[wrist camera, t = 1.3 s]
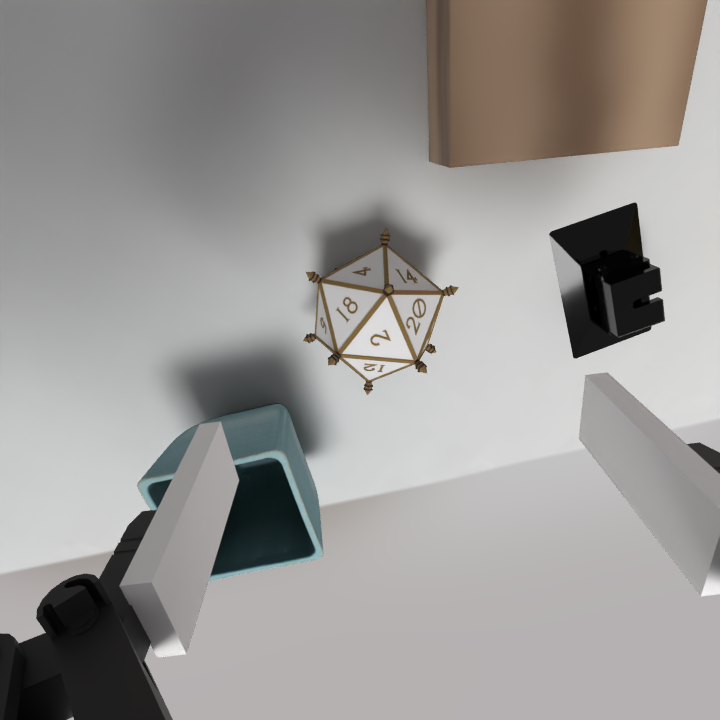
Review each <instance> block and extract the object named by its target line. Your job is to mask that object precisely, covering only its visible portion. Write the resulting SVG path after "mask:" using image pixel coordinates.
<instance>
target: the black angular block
mask: <svg viewBox="0 0 720 720" xmlns="http://www.w3.org/2000/svg"><path fill="white" fill-rule="evenodd" d="M549 236H550V241H551V246H552V251H553V256H554V261H555V266H556V271H557V276H558V281H559V287H560V292H561V297H562V302H563V307H564V312H565V317H566V322H567V327H568V333H569V338H570V343H571V348H572V353H573V357H574V358H578V357H581V356H584V355H586V354H589V353H592V352H594V351H597V350H600V349H602V348H605V347H607V346H610V345H613V344H615V343H618V342H621V341H623V340H626V339H628V338H631V337H634V336H636V335H639V334H642V333H644V332H647V331H649V330H650V329H651V326H652V325H655V324H658V323H661V322H664V321H665V316H664V306H663V299H661V298H659V297H657V298H654V299H652V300H650V296H649V295H652V294H655V293H658V292H660V291H662V285H661V275H660V268H659V267H656V266H654V265H651V264H650V261H649V259H648V258H645V257H643V251H642V243H641V234H640V226H639V217H638V208H637V203H632V204H629V205H626V206H623V207H620V208H617V209H614V210H612V211H609V212H606V213H603V214H600V215H597V216H594V217H592V218H589V219H586V220H583V221H580V222H577V223H574V224H571V225H569V226H566V227H563V228H560V229H557V230H554V231H552V232H550V234H549Z"/></svg>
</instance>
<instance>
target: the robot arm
mask: <svg viewBox="0 0 720 720" xmlns="http://www.w3.org/2000/svg"><path fill="white" fill-rule="evenodd" d="M579 439H580V441H581V442H582V443H583V445H584V446H585V447H586V448H587V450H588V451H589V452H590V454H591V455H592V456H593V457H594V459H595V460H596V461H597V463H598V464H599V465H600V466H601V468H602V469H603V470H604V472H605V473H606V474H607V475H608V477H609V478H610V479H611V481H612V482H613V483H614V485H615V486H616V487H617V489H618V490H619V491H620V492H621V494H622V495H623V496H624V498H625V499H626V500H627V501H628V503H629V504H630V505H631V507H632V508H633V509H634V510H635V512H636V513H637V514H638V516H639V517H640V518H641V519H642V521H643V522H644V523H645V525H646V526H647V527H648V528H649V530H650V531H651V532H652V534H653V535H654V536H655V538H656V539H657V540H658V541H659V543H660V544H661V545H662V547H663V548H664V549H665V551H666V552H667V553H668V554H669V556H670V557H671V558H672V560H673V561H674V562H675V563H676V565H677V566H678V567H679V569H680V570H681V571H682V573H683V574H684V575H685V576H686V578H687V579H688V580H689V581H690V583H691V584H692V585H693V587H694V588H695V589H696V591H697V592H698V593H699V594H700V596H708V595H717V594H720V453H719V452H717V451H715V450H713V449H711V448H709V447H707V446H705V445H703V444H701V443H692V444H686V443H685V442H683V440H681V439H680V438H679V437H678V436H677V435H676V434H675V433H674V432H673V431H671V430H670V429H669V428H668V427H667V426H666V425H665V424H664V423H663V422H661V421H660V420H659V419H658V418H657V417H656V416H655V415H654V414H653V413H652V412H650V411H649V410H648V409H647V408H646V407H645V406H644V405H643V404H642V403H640V402H639V401H638V400H637V399H636V398H635V397H634V396H633V395H632V394H630V393H629V392H628V391H627V390H626V389H625V388H624V387H623V386H622V385H620V384H619V383H618V382H617V381H616V380H615V379H614V378H613V377H612V376H611V375H609V374H608V373H599V374H592V375H585V384H584V394H583V404H582V413H581V423H580V433H579ZM238 482H239V478H238V475H237V472H236V469H235V466H234V462H233V459H232V456H231V453H230V450H229V447H228V443H227V440H226V437H225V434H224V431H223V428H222V424H221V421H220V422H212V423H204V424H200V425H199V427H198V429H197V431H196V433H195V435H194V437H193V439H192V441H191V443H190V445H189V447H188V449H187V451H186V453H185V455H184V457H183V459H182V461H181V463H180V465H179V467H178V469H177V471H176V473H175V475H174V477H173V479H172V481H171V483H170V485H169V487H168V489H167V491H166V493H165V495H164V497H163V499H162V501H161V503H160V505H159V507H158V509H157V510H150V511H142V512H141V513H140V514H139V515H138V516H137V517H136V518H135V519H134V520H133V521H132V522H131V523H130V524H129V525H128V527H127V529H126V531H125V532H124V534H123V536H122V538H121V542H120V543H118V545H117V547H116V549H115V551H114V555H112V556H111V558H110V560H109V562H108V563H107V565H106V567H105V569H104V571H103V572H102V574H101V576H100V578H99V579H98V578H97V577H96V576H95V575H91V574H81V575H76V576H74V577H71V578H69V579H67V580H65V581H63V582H62V583H60V584H59V585H57V586H56V587H55V588H53V589H52V590H51V591H50V592H49V593H48V594H47V595H46V596H45V597H44V598H43V600H42V601H41V603H40V605H39V607H38V609H37V617H36V618H37V620H38V622H39V623H40V625H41V626H42V627H43V629H44V630H45V632H46V633H44V634H42V635H39V636H37V637H34V638H32V639H29V640H27V641H24V642H22V643H18V642H17V641H16V639H15V638H14V637H13V636H11V635H10V634H0V720H67V719H69V718H71V717H74V720H173V719H172V717H171V715H170V713H169V711H168V709H167V707H166V705H165V703H164V700H163V698H162V696H161V694H160V692H159V690H158V688H157V686H156V683H155V681H154V679H153V677H152V675H151V673H150V671H149V669H148V666H147V665H146V663H145V661H144V659H145V657H146V654H147V651H148V649H149V646H150V644H151V646H152V648H153V650H154V652H155V654H156V655H157V657H166V656H174V655H184V654H187V651H188V648H189V645H190V641H191V638H192V635H193V631H194V628H195V625H196V621H197V618H198V615H199V611H200V608H201V605H202V602H203V598H204V594H205V592H206V588H207V585H208V582H209V578H210V575H211V572H212V568H213V565H214V562H215V559H216V555H217V552H218V549H219V545H220V542H221V539H222V535H223V532H224V529H225V525H226V522H227V519H228V516H229V512H230V509H231V506H232V502H233V499H234V496H235V492H236V489H237V486H238Z"/></svg>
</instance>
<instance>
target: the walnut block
mask: <svg viewBox="0 0 720 720" xmlns="http://www.w3.org/2000/svg"><path fill="white" fill-rule="evenodd" d="M706 5H707V0H426V9H427V65H428V121H429V161H430V162H433V163H437V164H440V165H443V166H447V167H450V168H451V167H462V166H472V165H482V164H493V163H503V162H513V161H524V160H534V159H545V158H555V157H565V156H576V155H586V154H596V153H607V152H617V151H627V150H638V149H648V148H658V147H669V146H678V144H679V139H680V135H681V130H682V125H683V120H684V115H685V110H686V105H687V100H688V95H689V90H690V85H691V80H692V75H693V70H694V65H695V60H696V55H697V50H698V45H699V40H700V35H701V30H702V25H703V20H704V15H705V10H706Z"/></svg>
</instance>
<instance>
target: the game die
mask: <svg viewBox="0 0 720 720" xmlns="http://www.w3.org/2000/svg"><path fill="white" fill-rule="evenodd" d="M389 237H390V235H389V233H388V230H387V228H386V229H385V231H384V232H383V233H382V235H381V239H380V240H381V242H382V244H381V245H380V246H378V247H376V248H375V249H373V250H371V251H369V252H367V253H365V254H364V255H362V256H360V257H358V258H356V259H355V260H353V261H351V262H349V263H347V264H346V265H344V266H342V267H340V268H335V271H333V272H331V273H329V274H328V275H326V276H324V277H322V278H320V277H319V275H318V274H315V272H306V274H307V276H308V278H309V281H310V280H311V281H313V283H314V282H316V283H318V296H317V310H316V325H315V334H311V333H310V334H309V335H308V334H307V336H306V337H305V339H304V340H303V341H306V342H308V343H310V342H311V341H312V342H313V341H314V340H315V339H317V340H318V341H320V342H321V343H322V344H323V345H324V346H325V347H326V348H328V349H329V350H330V351H331V352H332V353H333V355H331V357H329V358H328V365H336V364H337V362H339V359H340V360H342V361H343V362H344V363H345V364H346V365H348V366H349V367H350V368H351V369H352V370H354V371H355V372H356V373H357V374H359V375H360V376H361V377H362V378H363V379H365V380H366V384H365V385H364V386H365V388H364V390H365V392H366V393H367V395H368V394H369V393H370V391H371V390H373V389H372V387H373V385H372V381H374V380H377V379H379V378H382V377H384V376H387V375H389V374H392V373H394V372H397V371H399V370H402V369H404V368H407V367H409V366H412V365H414V364H415V366H416V369H417V370H418V372H423V373H427V370H426V367H427V366H426V365H425V364H424V363H423V362H422V361H420V358H421V357H422V355H423V353H424V351H425V350H426V351H428V352H429V353H431V354H432V353H435V352H436V350H435V346H432V344H428V343H429V340H430V337H431V334H432V331H433V328H434V325H435V322H436V319H437V316H438V312H439V309H440V306H441V303H442V300H443V297H444V296H445V295H448V296H450V295H452V294H453V295H454V293H455V292H456V290H457V289H458V288H459V287H453V286H450V287H448V288H447V287H446V289H444V290H441V289H440V288H439V287H437V286H436V285H435V284H434V283H433V282H431V281H430V280H429V279H428V278H427V277H425V276H424V275H423V274H422V273H420V272H419V271H418V270H417V269H416V268H414V267H413V266H412V265H411V264H409V263H408V262H407V261H406V260H405V259H403V258H402V257H401V256H400V255H399V254H397V253H396V252H395V251H394V250H392V249H391V248H390V247H389V246H388V242H389V241H390V240H389Z"/></svg>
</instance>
